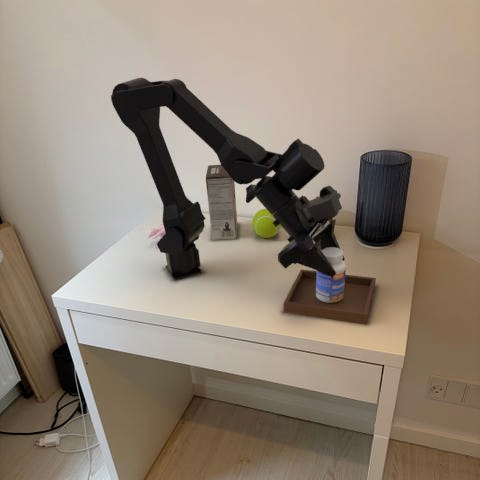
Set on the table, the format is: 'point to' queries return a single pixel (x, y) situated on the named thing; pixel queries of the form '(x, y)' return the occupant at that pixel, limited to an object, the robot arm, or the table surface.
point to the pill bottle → (331, 286)
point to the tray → (346, 309)
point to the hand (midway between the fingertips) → (338, 268)
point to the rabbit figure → (157, 232)
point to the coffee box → (221, 203)
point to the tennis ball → (264, 224)
